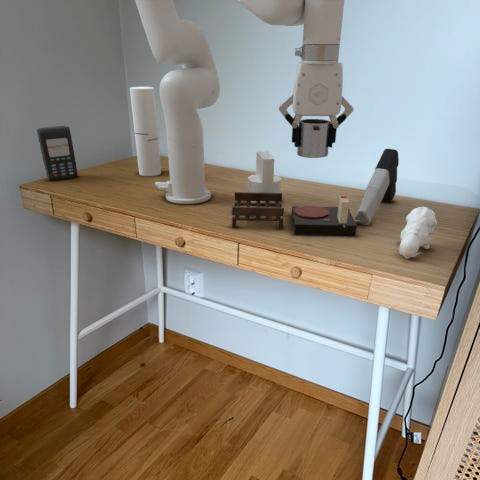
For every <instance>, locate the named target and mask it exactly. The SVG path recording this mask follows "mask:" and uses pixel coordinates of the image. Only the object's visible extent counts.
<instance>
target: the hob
mask: <svg viewBox="0 0 480 480" xmlns="http://www.w3.org/2000/svg"><path fill="white" fill-rule="evenodd" d="M300 206H301V205H292V206H291V213H290V215H291V222H292V229H293V234H294V236H296V235H298V236H337V237H339V236H342V237H343V236H344V237H345V236H346V237H356V234H357V228H358V225H357V221H360V220H356V219H354V217H353V214H352V213H351V211H350V208H349V209H348V217H347V224H340V223H339V221H338V218H337V215H338V207H339V206H322V207H323V208H326V209H327V210H328V211H329V215H328V216H326V217H322V218H306V217H301V216H298V215H297V214H295V213H294V210H295V208H297V207H300Z"/></svg>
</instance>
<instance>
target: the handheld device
mask: <svg viewBox="0 0 480 480" xmlns="http://www.w3.org/2000/svg"><path fill="white" fill-rule="evenodd" d="M399 164H400V163H399V152H398V150H397V149H393V148H385V149H383V152H382V153H381V156H380V158H379V160H378V162H377V164H376V166H375V168H374V171H373V174H372V176H371V178H370V180H369V182H368V184H367V186H366V188H365V191H364V195H363V197H362V200H361V202H360V205H359V208H358V211H357V213H356V216H355V220H360V221H356V224H360V225H364V226H369V225H370V224H371V222H372V220H373V218H374V217H375V215H376V212H377V210H378V208H379V206H380V204H381V203H388V204H391V203H392V202H393V200H394V197H395V195H396V193H397V181H398V167H399Z"/></svg>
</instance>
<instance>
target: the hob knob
mask: <svg viewBox="0 0 480 480" xmlns="http://www.w3.org/2000/svg"><path fill="white" fill-rule="evenodd" d="M337 207H338V215H337V218H338V221H339V223H340V224H347V217H348V209H349V210H350V208H349V207H350V201H349V199H348V197H347V195H340V196H339V200H338V206H337Z"/></svg>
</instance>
